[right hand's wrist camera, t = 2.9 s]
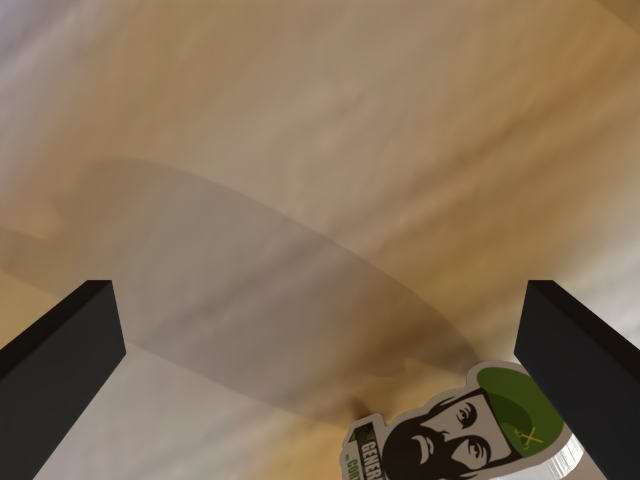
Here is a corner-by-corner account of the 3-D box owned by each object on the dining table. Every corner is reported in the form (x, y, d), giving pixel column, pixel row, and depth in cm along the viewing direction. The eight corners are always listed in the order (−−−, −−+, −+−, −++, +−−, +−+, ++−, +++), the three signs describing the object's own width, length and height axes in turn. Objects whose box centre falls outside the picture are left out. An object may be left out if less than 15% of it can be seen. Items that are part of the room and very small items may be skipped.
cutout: (351, 562, 38) (620, 484, 32) (337, 546, 38) (609, 462, 31) (350, 432, 52) (538, 360, 46) (340, 418, 52) (529, 342, 45)
